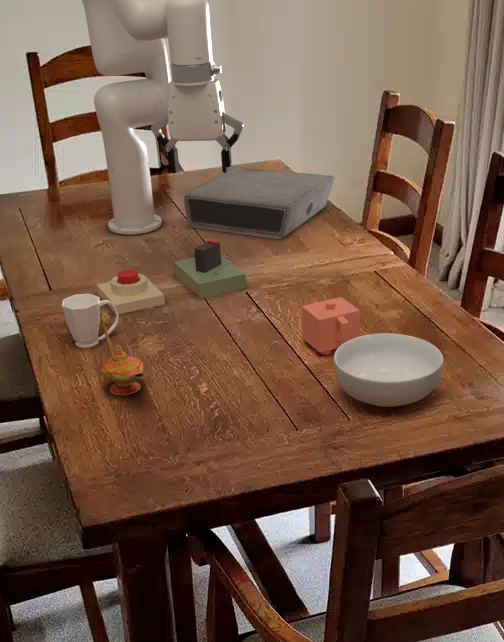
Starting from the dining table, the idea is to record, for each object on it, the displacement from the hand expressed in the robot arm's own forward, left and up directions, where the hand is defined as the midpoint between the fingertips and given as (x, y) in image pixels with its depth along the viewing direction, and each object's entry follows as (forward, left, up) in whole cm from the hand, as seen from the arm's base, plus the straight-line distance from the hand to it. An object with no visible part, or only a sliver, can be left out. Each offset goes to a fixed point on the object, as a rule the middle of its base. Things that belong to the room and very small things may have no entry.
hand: (200, 171), depth 179 cm
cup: (+13, -28, -23) cm, 38 cm away
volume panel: (-2, +1, -23) cm, 23 cm away
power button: (-2, -16, -19) cm, 25 cm away
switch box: (-2, -16, -23) cm, 28 cm away
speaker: (-33, +26, -23) cm, 48 cm away
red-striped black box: (-2, +1, -20) cm, 20 cm away
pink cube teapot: (+36, +8, -23) cm, 43 cm away
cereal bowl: (+57, +7, -23) cm, 61 cm away
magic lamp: (+35, -29, -23) cm, 51 cm away
